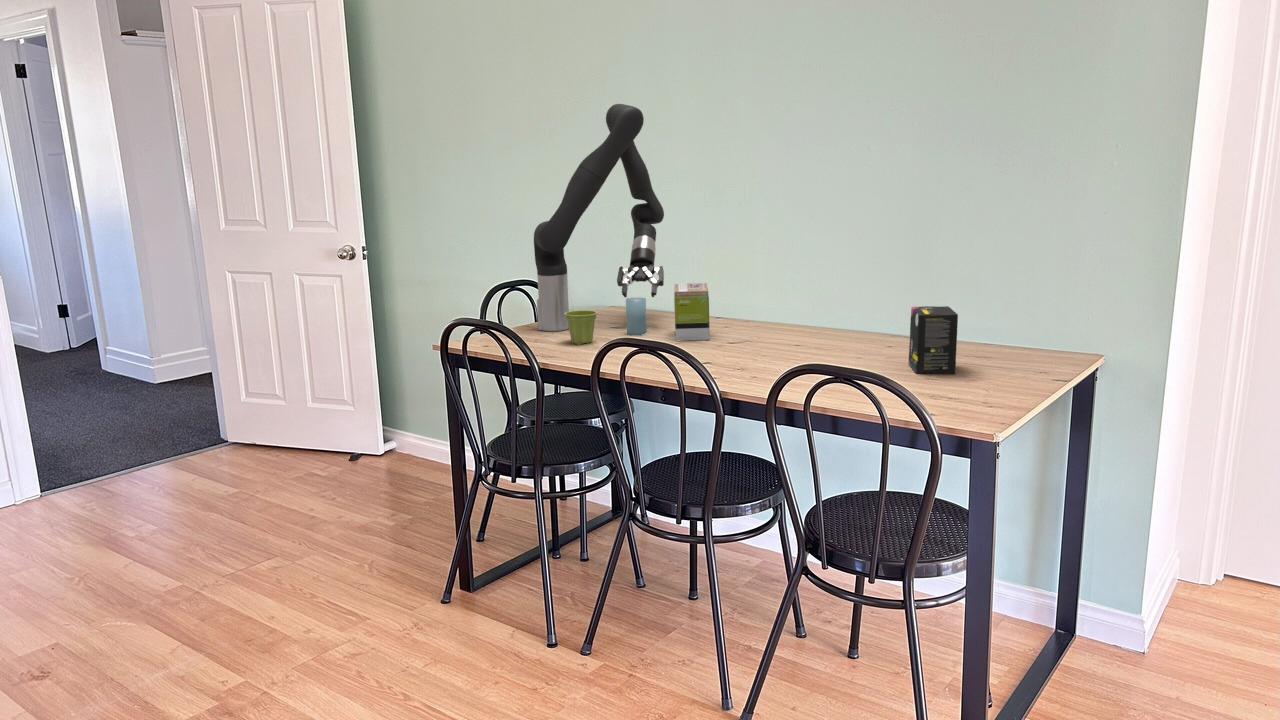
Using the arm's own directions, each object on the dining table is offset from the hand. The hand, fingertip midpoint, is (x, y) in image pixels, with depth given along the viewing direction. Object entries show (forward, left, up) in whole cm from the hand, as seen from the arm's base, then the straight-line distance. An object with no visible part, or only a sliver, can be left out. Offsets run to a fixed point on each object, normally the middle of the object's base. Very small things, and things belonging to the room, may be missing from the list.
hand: (638, 295), depth 279 cm
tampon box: (+79, -49, -11) cm, 93 cm away
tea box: (+17, -9, -11) cm, 22 cm away
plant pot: (-14, -19, -11) cm, 26 cm away
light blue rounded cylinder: (0, -6, -11) cm, 12 cm away
